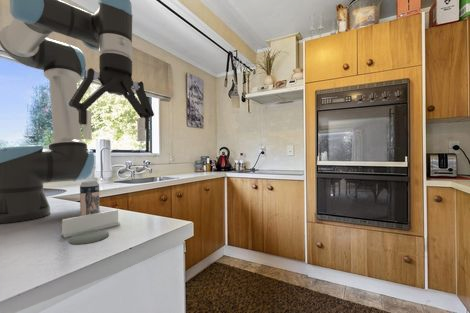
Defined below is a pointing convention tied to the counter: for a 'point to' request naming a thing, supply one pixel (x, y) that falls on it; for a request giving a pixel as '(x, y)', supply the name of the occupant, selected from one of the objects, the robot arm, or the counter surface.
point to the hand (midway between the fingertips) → (116, 140)
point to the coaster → (88, 237)
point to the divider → (89, 223)
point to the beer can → (89, 198)
